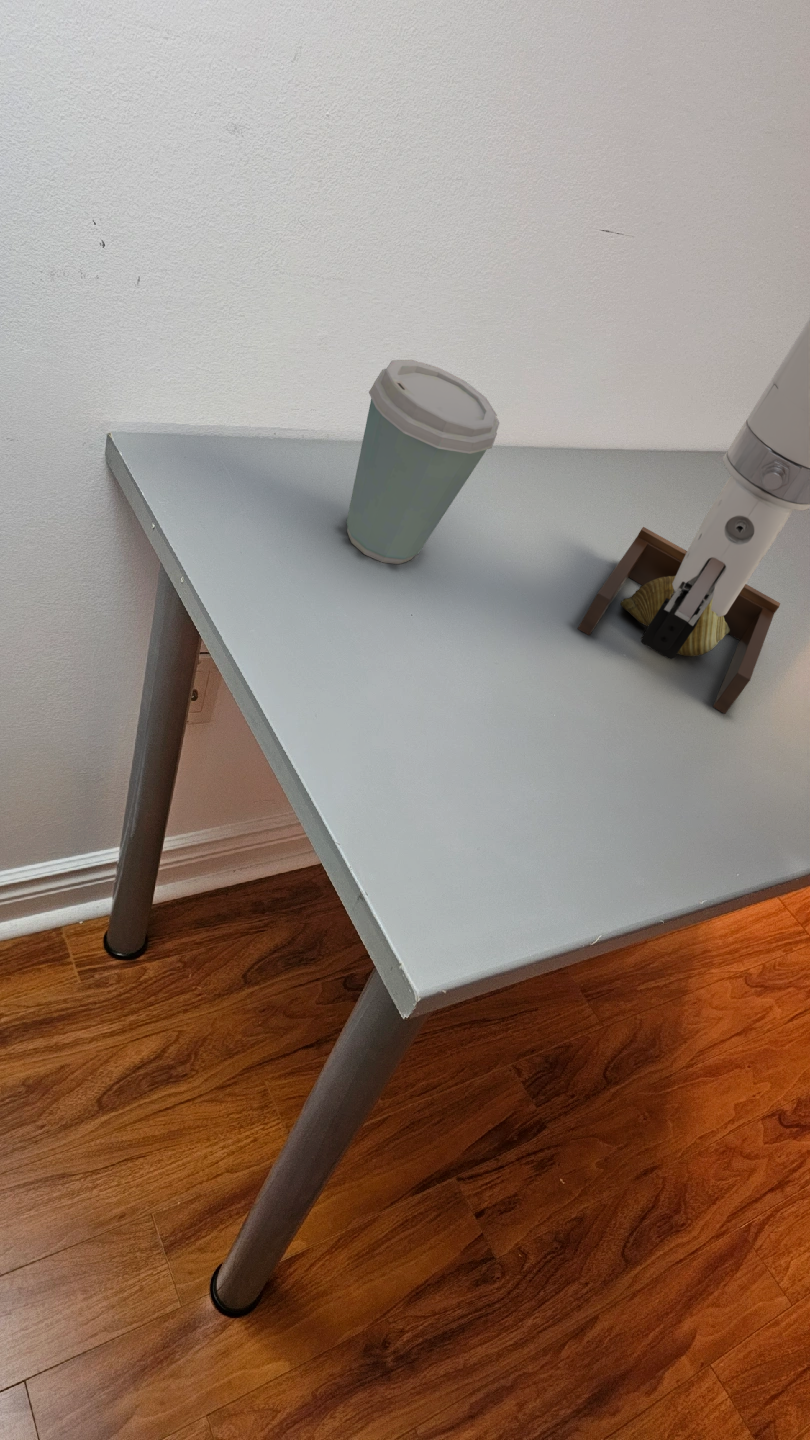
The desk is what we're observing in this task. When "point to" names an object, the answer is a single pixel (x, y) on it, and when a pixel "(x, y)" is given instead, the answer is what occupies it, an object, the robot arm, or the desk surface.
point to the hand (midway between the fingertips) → (658, 646)
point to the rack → (743, 618)
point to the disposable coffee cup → (415, 457)
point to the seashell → (651, 600)
